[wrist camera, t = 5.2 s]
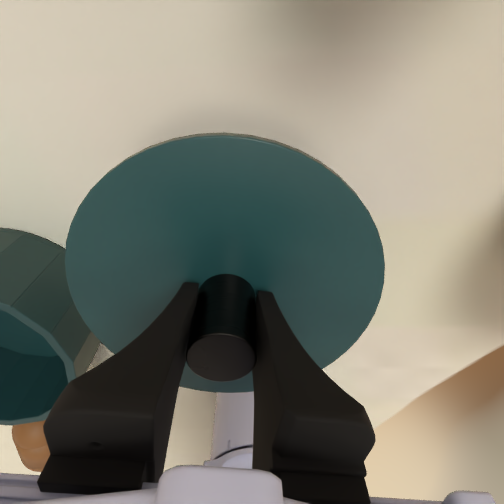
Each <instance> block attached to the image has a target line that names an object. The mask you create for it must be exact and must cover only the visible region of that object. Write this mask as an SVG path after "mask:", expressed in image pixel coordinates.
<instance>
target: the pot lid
mask: <svg viewBox="0 0 504 504" xmlns="http://www.w3.org/2000/svg"><path fill="white" fill-rule="evenodd" d="M65 269H66V278H67V282H68V286H69V290H70V294H71V296H72V299H73V301H74V303H75V306H76V308H77V310H78V312H79V314H80V315H81V317H82V319H83V320H84V322H85V324H86V325H87V326H88V327H89V329H90V330H91V331H92V333H93V334H94V335H95V336H96V337H97V338H98V339H99V340H100V341H101V342H102V343H103V344H104V345H105V346H106V347H107V348H108V349H109V350H110V351H111V352H113V353H114V354H116V353H118V352H119V351H120V350H122V349H123V348H124V347H125V346H127V345H128V344H129V343H130V342H132V341H133V340H134V339H135V338H136V337H138V336H139V335H140V334H141V333H142V332H143V331H144V330H145V329H146V328H147V327H148V326H149V325H150V324H151V323H152V322H153V321H154V320H155V319H156V318H157V317H158V316H159V315H160V314H161V313H162V311H163V310H164V309H165V308H166V306H167V305H168V304H169V303H170V302H171V300H172V299H173V298H174V296H175V295H176V293H177V292H178V290H179V289H180V287H181V285H182V284H183V283H184V282H191V283H199V291H198V298H197V303H196V308H195V313H194V316H193V321H192V326H191V331H190V336H189V340H188V345H187V350H186V363H185V367H184V370H183V374H182V377H181V381H180V384H179V386H180V387H185V388H189V389H194V390H200V391H208V392H220V393H242V392H253V391H254V388H253V375H252V370H253V368H254V367H255V365H256V361H257V344H256V305H255V303H256V298H257V293H258V290H259V291H267V292H272V293H273V295H274V297H275V299H276V302H277V304H278V306H279V308H280V310H281V312H282V314H283V316H284V318H285V319H286V321H287V323H288V325H289V326H290V328H291V330H292V331H293V333H294V335H295V336H296V338H297V339H298V341H299V342H300V344H301V345H302V346H303V348H304V349H305V350H306V352H307V353H308V354H309V356H310V357H311V358H312V359H313V360H314V362H315V363H316V364H317V365H318V366H319V367H320V368H321V369H323V368H325V367H326V366H328V365H329V364H331V363H332V362H334V361H335V360H336V359H338V358H339V357H340V356H341V355H342V354H344V353H345V352H346V351H347V350H348V349H349V348H350V347H351V346H352V345H353V344H354V343H355V342H356V341H357V340H358V339H359V337H360V336H361V335H362V333H363V332H364V331H365V329H366V328H367V326H368V325H369V323H370V321H371V319H372V317H373V316H374V314H375V311H376V309H377V306H378V304H379V301H380V298H381V294H382V289H383V284H384V270H385V262H384V254H383V247H382V243H381V240H380V237H379V233H378V230H377V228H376V225H375V223H374V221H373V219H372V217H371V215H370V213H369V211H368V210H367V209H366V207H365V206H364V204H363V203H362V201H361V200H360V199H359V197H358V196H357V194H356V193H355V192H354V190H353V189H352V188H351V187H350V186H349V185H348V184H347V183H346V182H345V181H344V180H343V179H342V178H341V177H340V176H339V175H338V174H336V173H335V172H334V171H332V170H331V169H330V168H328V167H327V166H326V165H324V164H323V163H322V162H320V161H319V160H317V159H315V158H313V157H311V156H309V155H308V154H306V153H304V152H302V151H300V150H298V149H296V148H293V147H290V146H288V145H285V144H283V143H280V142H277V141H274V140H270V139H265V138H261V137H257V136H252V135H244V134H233V133H207V134H195V135H189V136H184V137H179V138H173V139H170V140H167V141H164V142H161V143H158V144H155V145H152V146H149V147H148V148H146V149H144V150H142V151H140V152H138V153H136V154H134V155H132V156H130V157H128V158H127V159H125V160H124V161H123V162H121V163H120V164H118V165H117V166H116V167H114V168H113V169H112V170H110V171H109V172H108V173H107V174H106V175H105V176H104V177H103V178H102V179H101V180H100V181H99V182H98V183H97V184H96V185H95V186H94V187H93V188H92V189H91V190H90V192H89V193H88V194H87V196H86V197H85V199H84V200H83V202H82V203H81V204H80V206H79V208H78V210H77V212H76V214H75V216H74V219H73V221H72V223H71V226H70V230H69V233H68V237H67V241H66V251H65Z"/></svg>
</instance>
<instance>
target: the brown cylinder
mask: <svg viewBox="0 0 504 504" xmlns="http://www.w3.org/2000/svg"><path fill="white" fill-rule="evenodd" d="M45 421H46V420H44V421H38V422H32V423H26V424H19V425H13V427H12V437H13V441H14V443H15V446H16V448H17V451H18V453H19V456H20V458H21V461H22V463H23V464H24V465H25V466H26V467H27V468H28V469H30V470H32V471H37V472H42V470H43V468H44V466H45V464H46V462H47V460H48V458H49V456H50V451H49V448H48V445H47V441H46V438H45V435H44V432H43V425H44V423H45Z"/></svg>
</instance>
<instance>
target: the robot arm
mask: <svg viewBox="0 0 504 504" xmlns="http://www.w3.org/2000/svg"><path fill="white" fill-rule="evenodd" d="M198 291H199V283H191V282H184V283H183V284H182V285H181V287H180V289H179V290H178V292H177V293H176V295H175V296H174V298H173V299H172V300H171V302H170V303H169V304H168V305H167V306H166V308H165V309H164V310H163V311H162V313H161V314H160V315H159V316H158V317H157V318H156V319H155V320H154V321H153V322H152V323H151V324H150V325H149V326H148V327H147V328H146V329H145V330H144V331H143V332H142V333H141V334H140V335H139V336H138V337H136V338H135V339H134V340H133V341H132V342H130V343H129V344H128V345H127V346H125V347H124V348H123V349H122V350H120V351H119V352H118V353H116V354H115V355H113V356H112V357H110V358H109V359H107V360H106V361H104V362H103V363H101V364H100V365H98V366H97V367H95V368H93V369H92V370H90V371H88V372H86V373H84V374H83V375H81V376H79V377H77V378H75V379H73V380H71V381H70V382H69V383H68V385H67V386H66V387H65V389H64V390H63V392H62V393H61V394H60V396H59V397H58V399H57V400H56V402H55V403H54V405H53V407H52V409H51V411H50V413H49V415H48V417H47V419H46V421H45V423H44V425H43V432H44V435H45V438H46V441H47V445H48V448H49V451H50V456H49V458H48V460H47V462H46V464H45V466H44V468H43V470H42V472H41V474H40V476H39V475H24V474H8V473H0V504H496V503H495V501H494V499H493V497H492V495H491V494H490V493H488V492H477V491H454V492H452V493H450V494H449V495H447V497H446V498H445V499H444V501H443V502H442V501H426V500H410V499H395V498H379V497H369V494H368V490H367V487H366V483H365V479H364V477H365V476H366V469H365V465H364V460H365V459H366V457H367V455H368V454H369V452H370V451H371V449H372V447H373V446H374V443H375V434H374V431H373V427H372V425H371V422H370V420H369V417H368V415H367V413H366V411H365V408H364V406H362V405H361V404H360V403H359V402H357V401H356V400H355V399H354V398H352V397H351V396H350V395H349V394H347V393H346V392H345V391H344V390H342V389H341V388H340V387H339V386H338V385H337V384H336V383H335V382H334V381H333V380H332V379H330V378H329V377H328V376H327V374H326V373H325V372H324V371H323V370H322V369H321V368H320V367H319V366H318V365H317V364H316V363H315V362H314V360H313V359H312V358H311V357H310V356H309V354H308V353H307V352H306V350H305V349H304V348H303V346H302V345H301V344H300V342H299V341H298V339H297V338H296V336H295V335H294V333H293V331H292V330H291V328H290V326H289V325H288V323H287V321H286V319H285V318H284V316H283V314H282V312H281V310H280V308H279V306H278V304H277V302H276V299H275V297H274V295H273V293H272V292H267V291H259V290H258V293H257V298H256V303H255V305H256V344H257V361H256V365H255V367H254V368H253V370H252V375H253V388H254V391H253V392H242V393H220V392H217V396H216V406H215V417H214V428H213V439H212V449H211V460H210V461H205V462H204V466H201V465H180V466H175V467H173V468H170V469H168V470H166V471H165V472H163V469H164V464H165V458H166V452H167V447H168V441H169V435H170V430H171V425H172V419H173V414H174V408H175V403H176V398H177V393H178V388H179V384H180V381H181V377H182V374H183V370H184V367H185V363H186V350H187V345H188V340H189V336H190V331H191V326H192V321H193V316H194V313H195V308H196V303H197V298H198Z"/></svg>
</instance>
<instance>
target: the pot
mask: <svg viewBox="0 0 504 504" xmlns="http://www.w3.org/2000/svg"><path fill="white" fill-rule="evenodd" d="M65 251H66V250H65V249H64V248H62V247H61V246H59V245H57V244H55V243H53V242H51V241H49V240H47V239H44V238H42V237H39V236H36V235H34V234H30V233H27V232H23V231H19V230H13V229H6V228H0V425H19V424H26V423H32V422H38V421H44V420H46V419H47V417H48V415H49V413H50V411H51V409H52V407H53V405H54V403H55V402H56V400H57V399H58V397H59V396H60V394H61V393H62V392H63V390H64V389H65V387H66V386H67V385H68V383H69V382H70V381H71V380H73V379H75V378H77V377H79V376H81V375H83V374H84V373H86V371H87V369H88V367H89V365H90V363H91V361H92V359H93V357H94V355H95V353H96V351H97V349H98V347H99V345H100V343H101V341H100V340H99V339H98V338H97V337H96V336H95V335H94V334H93V333H92V331H91V330H90V329H89V327H88V326H87V325H86V324H85V322H84V320H83V319H82V317H81V315H80V314H79V312H78V310H77V308H76V306H75V303H74V301H73V299H72V296H71V294H70V290H69V286H68V282H67V278H66V269H65Z"/></svg>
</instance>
